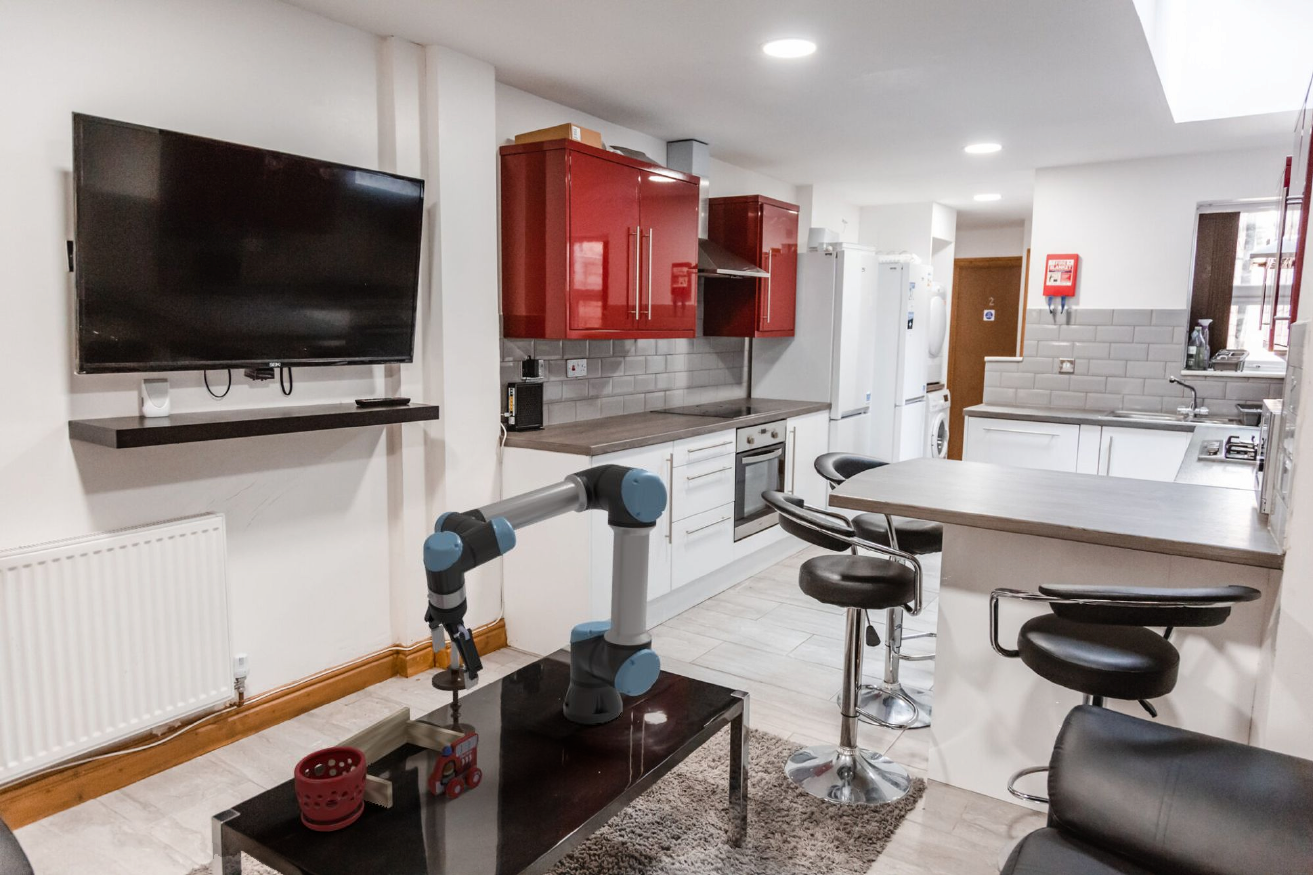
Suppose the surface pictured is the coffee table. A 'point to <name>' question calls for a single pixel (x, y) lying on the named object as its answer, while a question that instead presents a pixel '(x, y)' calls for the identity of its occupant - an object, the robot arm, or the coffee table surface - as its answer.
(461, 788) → the toy fire truck
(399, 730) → the box
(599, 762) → the coffee table surface
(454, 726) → the candlestick
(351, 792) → the plant pot
